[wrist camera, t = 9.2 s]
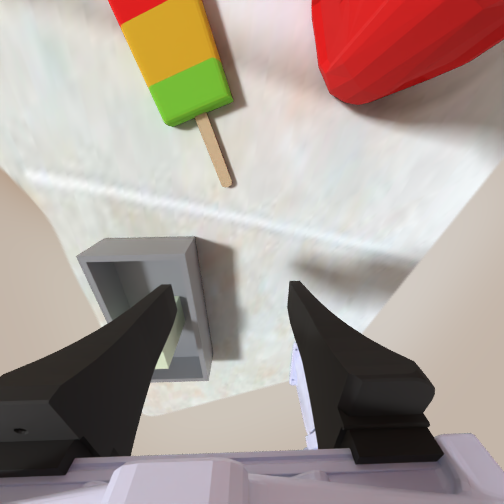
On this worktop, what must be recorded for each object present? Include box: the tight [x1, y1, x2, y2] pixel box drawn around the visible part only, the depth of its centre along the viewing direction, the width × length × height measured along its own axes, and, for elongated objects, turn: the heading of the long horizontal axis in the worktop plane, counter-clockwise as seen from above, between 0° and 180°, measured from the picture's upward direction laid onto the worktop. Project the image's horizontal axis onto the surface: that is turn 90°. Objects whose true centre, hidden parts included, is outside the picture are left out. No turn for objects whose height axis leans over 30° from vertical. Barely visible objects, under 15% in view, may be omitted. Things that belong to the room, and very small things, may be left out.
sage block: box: [155, 296, 185, 369], centre depth 21 cm, size 4×4×6 cm
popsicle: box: [108, 0, 233, 187], centre depth 15 cm, size 6×15×2 cm, turn 19°
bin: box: [76, 236, 213, 382], centre depth 23 cm, size 18×9×4 cm, turn 1°
